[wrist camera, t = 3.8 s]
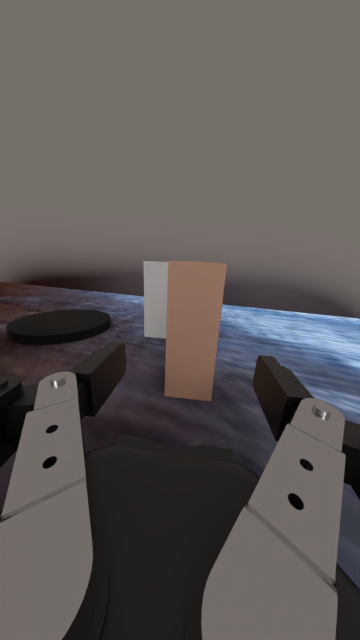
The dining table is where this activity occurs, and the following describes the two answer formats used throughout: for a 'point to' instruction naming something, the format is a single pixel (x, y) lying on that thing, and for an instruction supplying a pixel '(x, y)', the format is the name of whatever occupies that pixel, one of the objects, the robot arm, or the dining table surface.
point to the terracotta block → (192, 327)
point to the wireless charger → (58, 327)
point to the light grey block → (155, 299)
